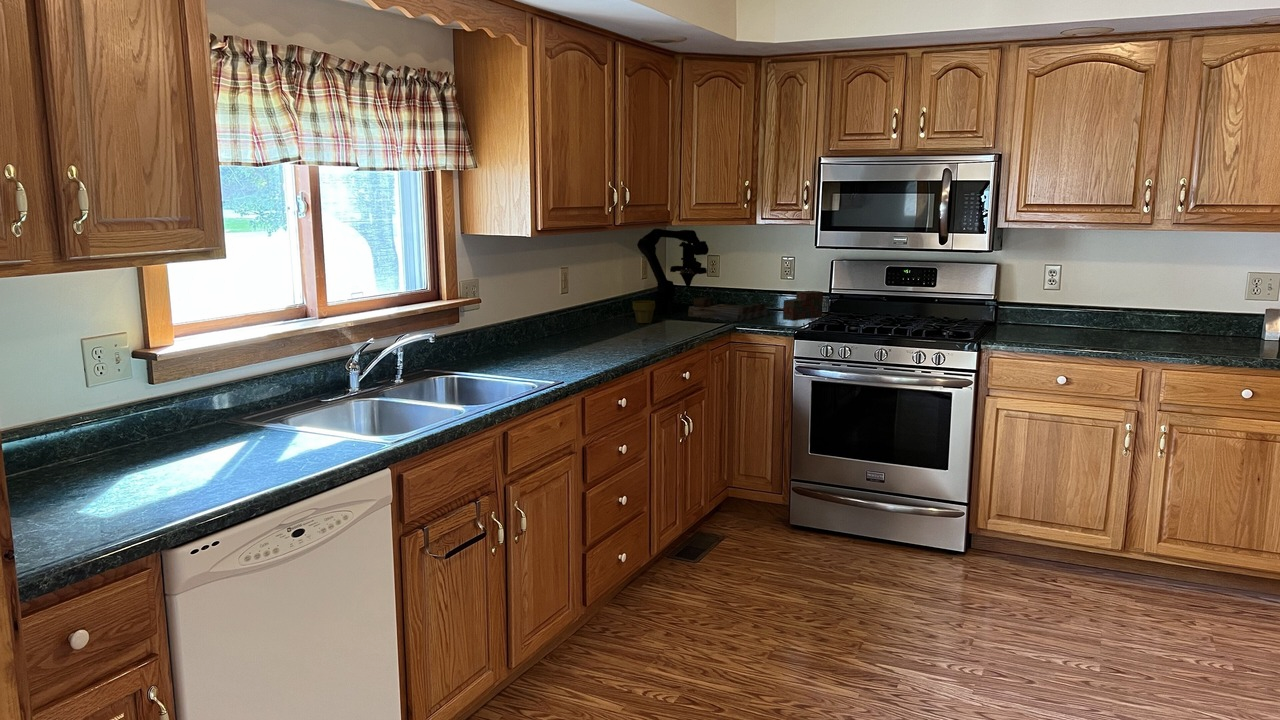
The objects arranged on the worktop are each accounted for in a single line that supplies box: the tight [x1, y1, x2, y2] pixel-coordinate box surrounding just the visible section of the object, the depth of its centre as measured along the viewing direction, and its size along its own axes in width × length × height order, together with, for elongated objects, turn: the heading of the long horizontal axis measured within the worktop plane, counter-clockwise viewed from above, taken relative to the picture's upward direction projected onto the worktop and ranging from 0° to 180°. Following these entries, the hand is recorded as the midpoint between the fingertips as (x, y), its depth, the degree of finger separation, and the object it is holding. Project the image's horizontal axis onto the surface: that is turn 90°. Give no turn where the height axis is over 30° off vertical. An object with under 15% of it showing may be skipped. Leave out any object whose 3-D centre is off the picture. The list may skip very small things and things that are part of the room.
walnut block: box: [692, 297, 712, 308], centre depth 448 cm, size 6×6×4 cm
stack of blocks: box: [782, 290, 824, 321], centre depth 430 cm, size 21×6×12 cm, turn 130°
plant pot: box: [632, 300, 656, 324], centre depth 415 cm, size 10×10×10 cm
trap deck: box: [687, 302, 770, 322], centre depth 441 cm, size 28×35×6 cm
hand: (688, 287), depth 452 cm, fingers closed
